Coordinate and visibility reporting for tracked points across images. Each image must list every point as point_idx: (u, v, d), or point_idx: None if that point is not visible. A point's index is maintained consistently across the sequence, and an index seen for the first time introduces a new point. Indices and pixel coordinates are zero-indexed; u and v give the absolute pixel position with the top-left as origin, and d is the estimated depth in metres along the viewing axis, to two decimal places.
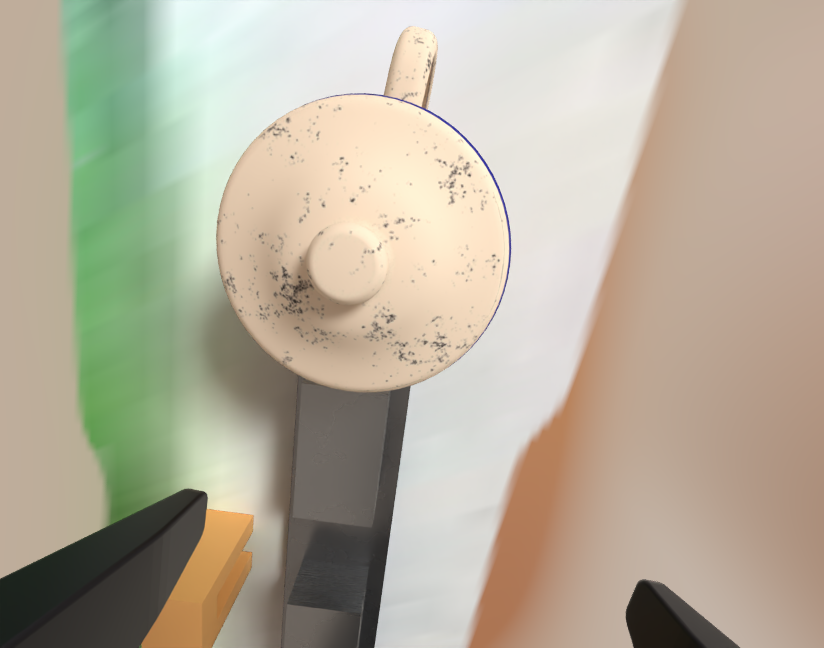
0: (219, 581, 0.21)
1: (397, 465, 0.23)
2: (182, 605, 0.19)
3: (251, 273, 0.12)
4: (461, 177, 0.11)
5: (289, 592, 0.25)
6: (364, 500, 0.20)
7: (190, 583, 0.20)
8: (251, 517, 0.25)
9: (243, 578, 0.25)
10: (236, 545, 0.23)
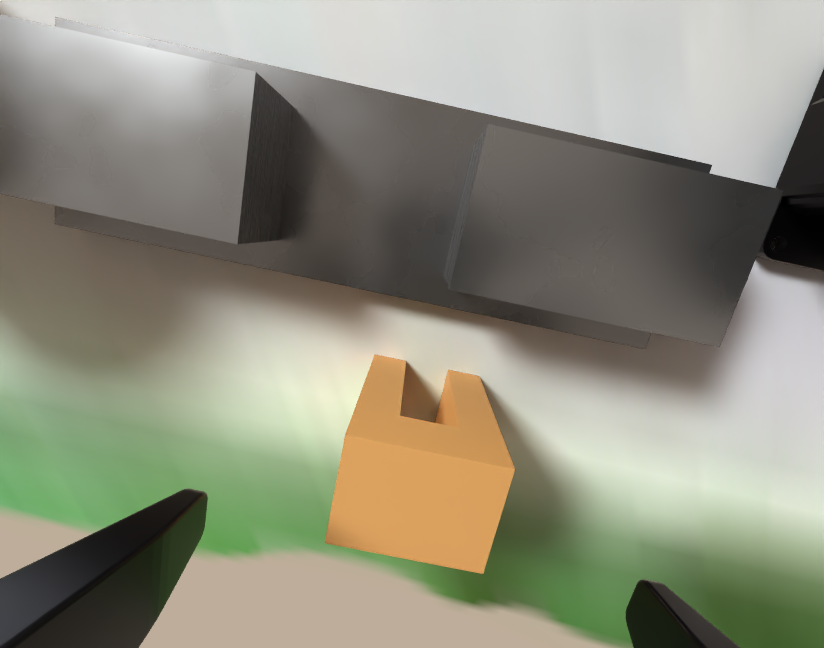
0: (375, 407, 0.11)
1: (242, 62, 0.12)
2: (350, 473, 0.10)
3: None
4: None
5: (515, 312, 0.14)
6: (188, 82, 0.09)
7: None
8: (374, 357, 0.15)
9: (472, 386, 0.14)
10: (366, 378, 0.13)
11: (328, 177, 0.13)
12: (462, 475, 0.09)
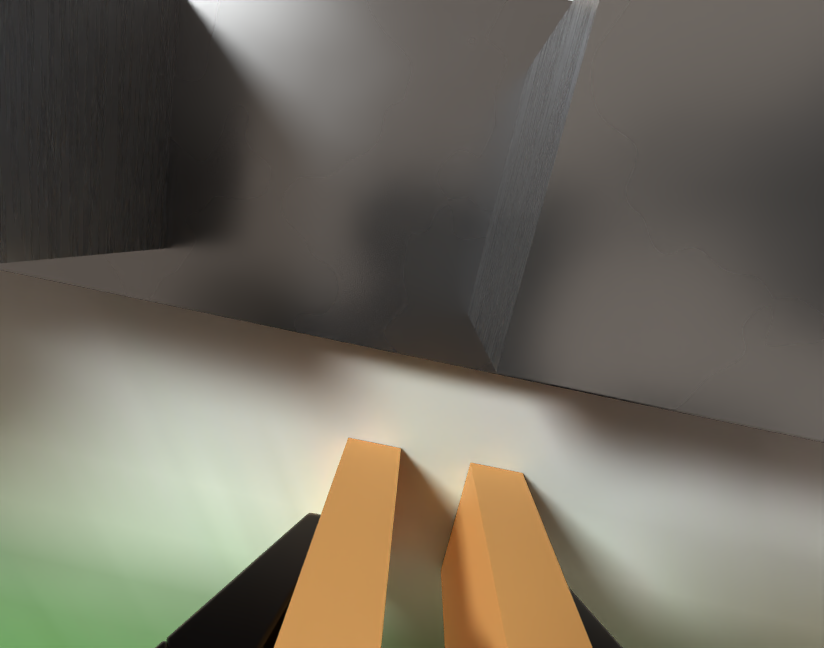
0: (325, 626, 0.05)
1: None
2: None
3: None
4: None
5: None
6: None
7: None
8: (346, 444, 0.09)
9: (516, 506, 0.08)
10: (323, 511, 0.07)
11: (250, 129, 0.07)
12: None
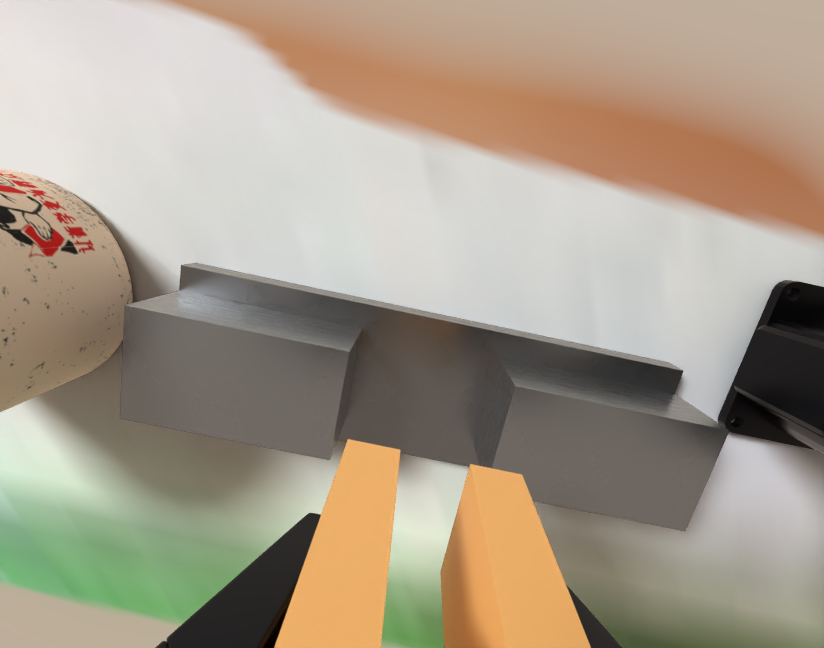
0: (324, 629, 0.05)
1: (323, 297, 0.16)
2: None
3: None
4: None
5: None
6: (300, 357, 0.13)
7: None
8: (346, 445, 0.09)
9: (515, 507, 0.08)
10: (323, 513, 0.07)
11: (386, 376, 0.16)
12: None
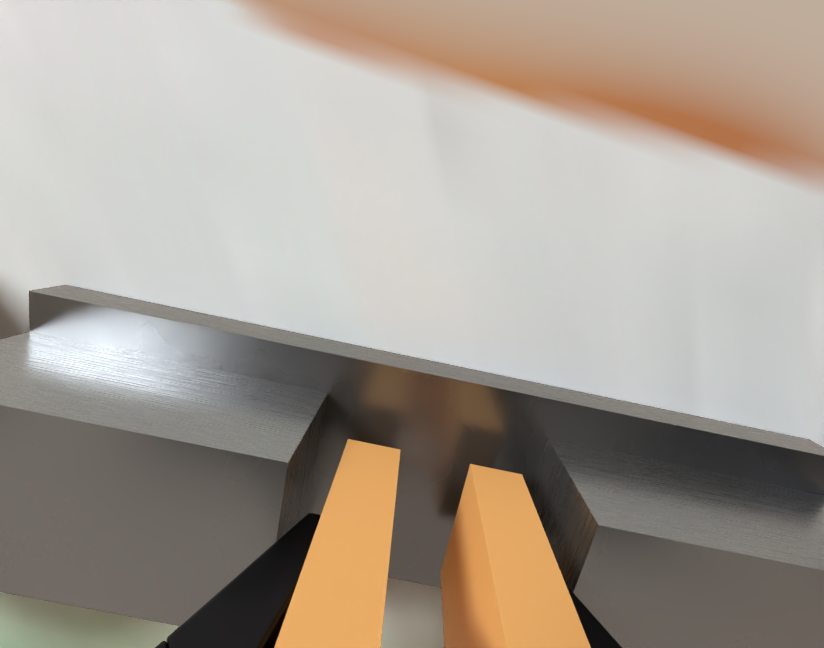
0: (324, 628, 0.05)
1: (262, 344, 0.10)
2: None
3: None
4: None
5: None
6: (197, 472, 0.07)
7: None
8: (346, 445, 0.09)
9: (516, 507, 0.08)
10: (323, 513, 0.07)
11: None
12: None
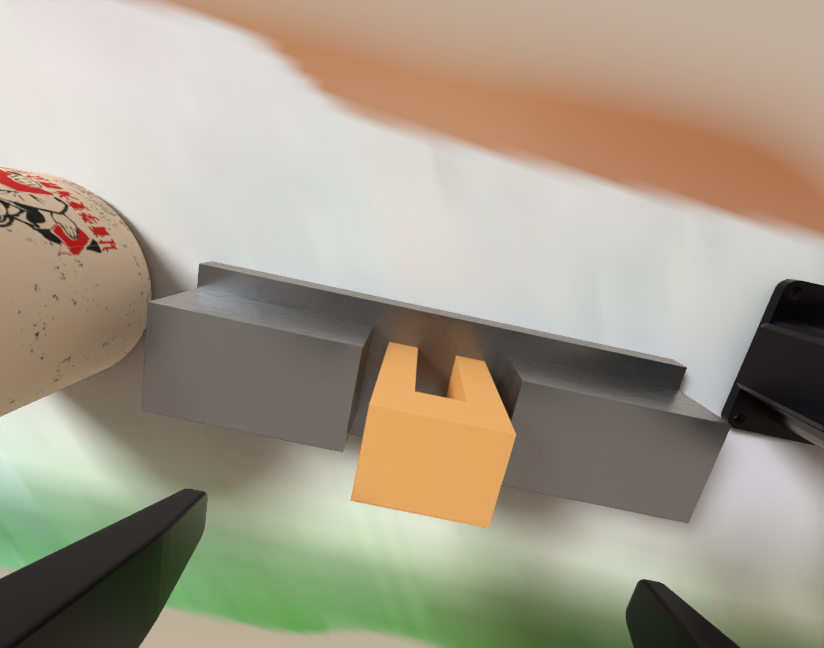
0: (392, 384, 0.12)
1: (335, 295, 0.16)
2: (373, 439, 0.11)
3: None
4: None
5: None
6: (315, 352, 0.14)
7: None
8: (388, 344, 0.16)
9: (478, 369, 0.15)
10: (383, 361, 0.14)
11: None
12: (470, 440, 0.11)
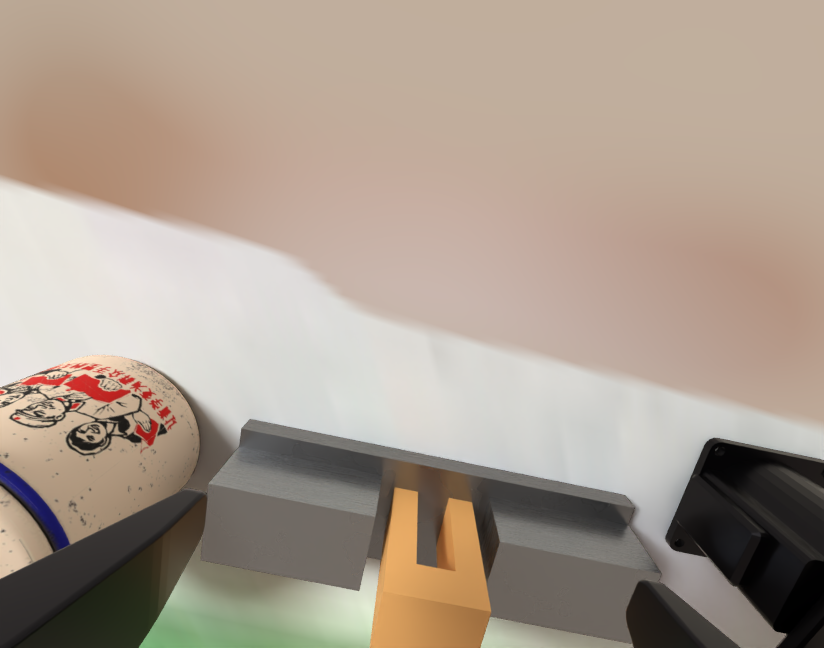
0: (399, 556, 0.16)
1: (351, 453, 0.20)
2: (386, 613, 0.15)
3: None
4: None
5: None
6: (338, 520, 0.18)
7: (380, 592, 0.16)
8: (394, 490, 0.20)
9: (466, 517, 0.19)
10: (391, 521, 0.18)
11: None
12: (458, 615, 0.15)
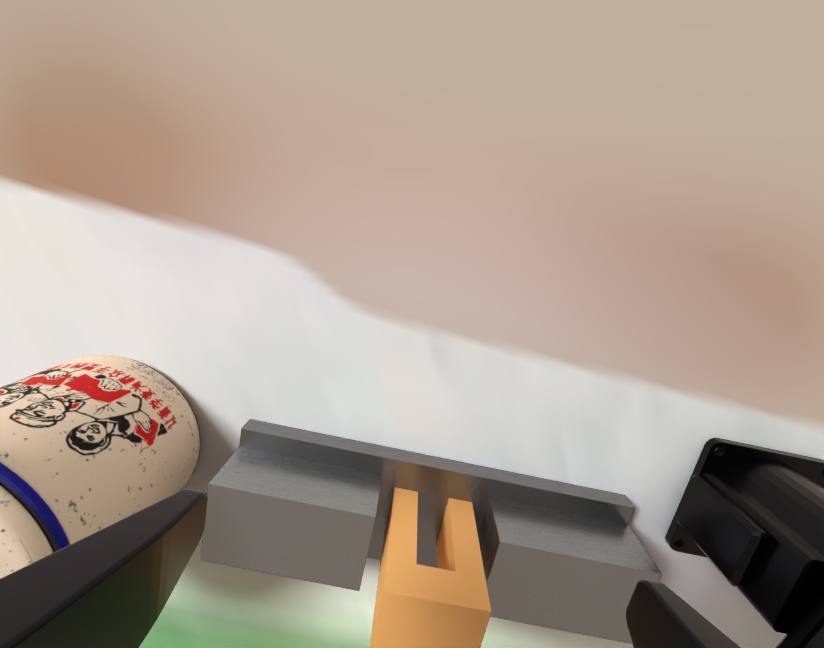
0: (399, 556, 0.16)
1: (351, 453, 0.20)
2: (386, 613, 0.15)
3: None
4: None
5: None
6: (338, 520, 0.18)
7: (380, 592, 0.16)
8: (394, 490, 0.20)
9: (466, 517, 0.19)
10: (391, 521, 0.18)
11: None
12: (458, 615, 0.15)
